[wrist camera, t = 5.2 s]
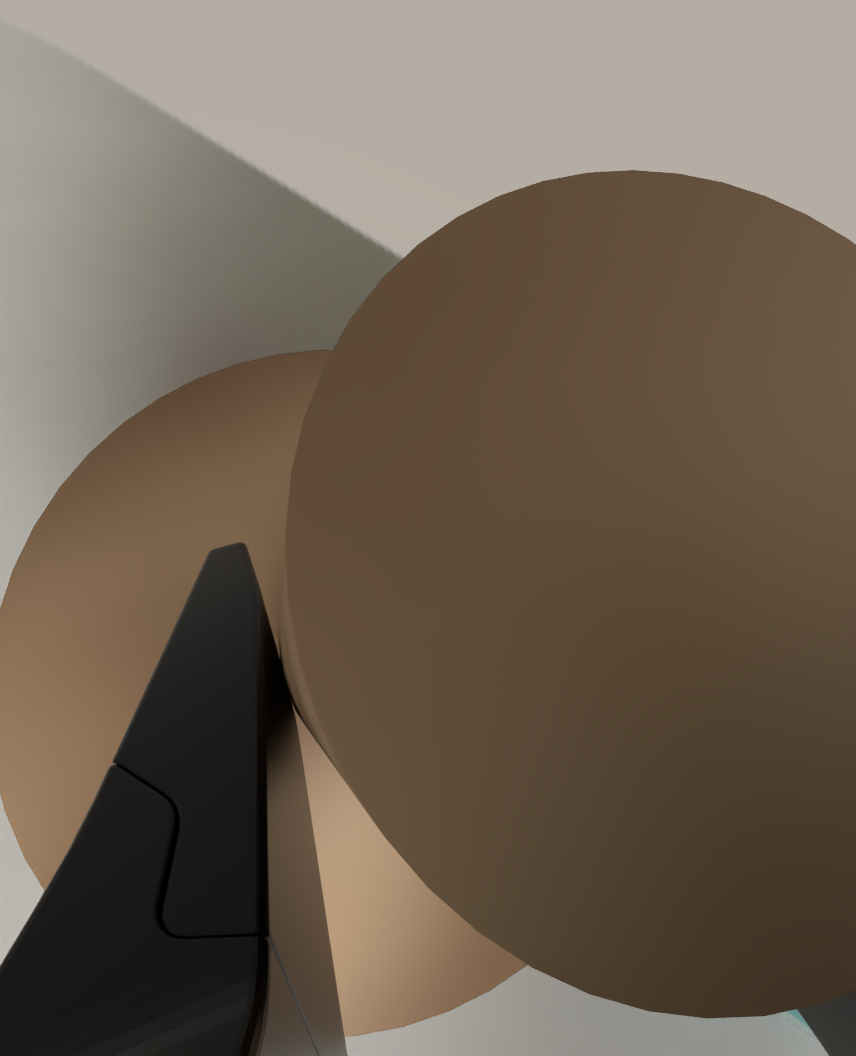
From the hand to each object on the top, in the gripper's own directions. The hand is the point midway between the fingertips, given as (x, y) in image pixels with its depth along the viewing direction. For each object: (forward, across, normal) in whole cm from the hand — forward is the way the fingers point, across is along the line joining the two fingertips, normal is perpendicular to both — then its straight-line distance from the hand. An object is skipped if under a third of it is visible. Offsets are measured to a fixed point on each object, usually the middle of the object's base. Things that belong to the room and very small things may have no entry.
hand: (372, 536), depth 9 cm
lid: (+4, 0, +6) cm, 7 cm away
